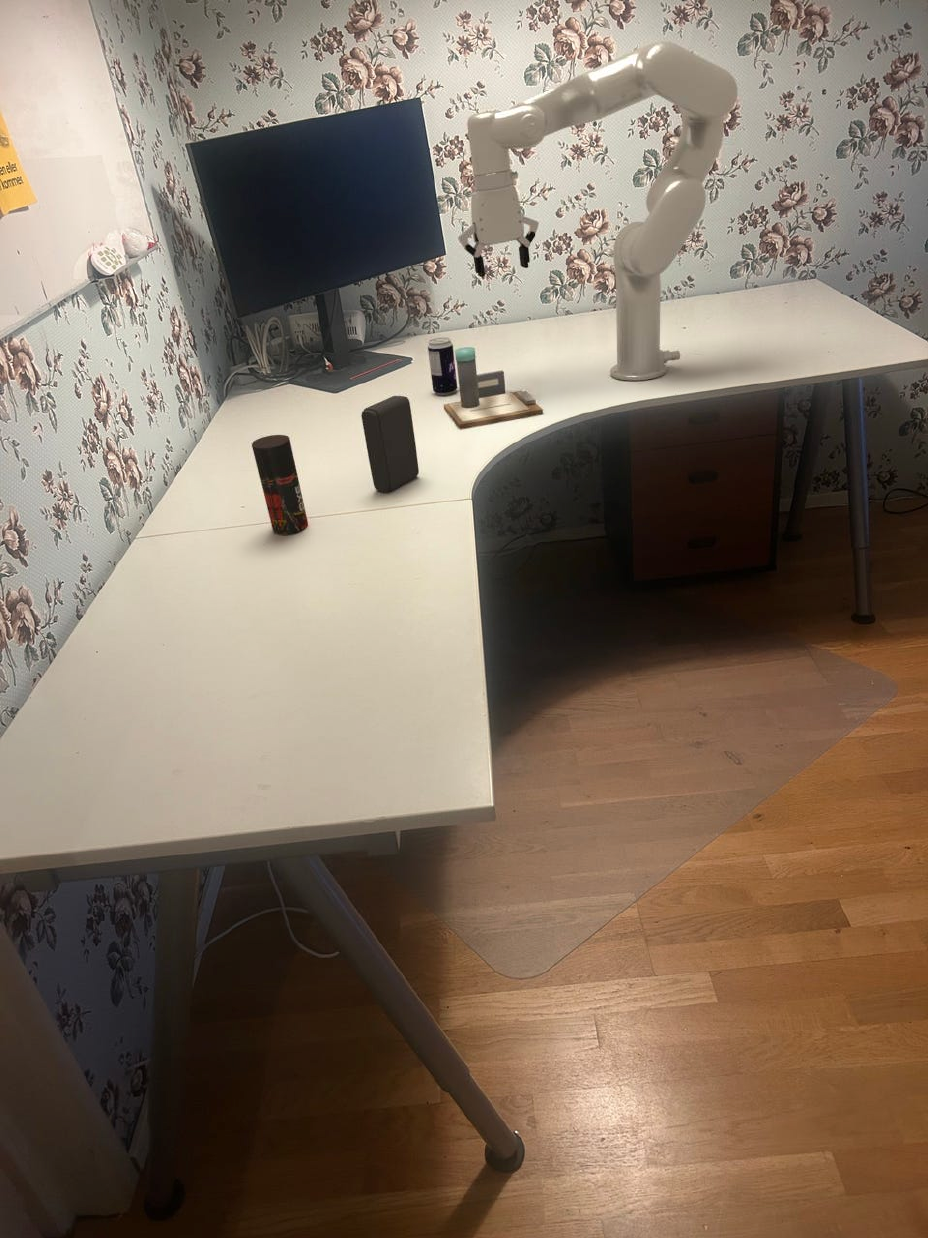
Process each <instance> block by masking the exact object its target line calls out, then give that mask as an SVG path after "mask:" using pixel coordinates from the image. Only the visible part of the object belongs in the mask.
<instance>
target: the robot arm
mask: <svg viewBox="0 0 928 1238" xmlns="http://www.w3.org/2000/svg"><path fill="white" fill-rule="evenodd" d="M737 85H738V84H737V81H736V79H735V78H734V76H733V74H731V72H730V71H728V70H727V69H725V68H723V67H721V66H719V65H717V64H716V63H713V62H711V61H709V60H708V59H705V58H703V57H701V56H699V55H698V54H696V53H693V52H692V51H690V50H688V49H686V48H684V47H682V46H680V45H678V44H677V43H674V42H672V41H659V42H658V41H657V42H653V43H649V44H646V45H644V46H642V47H640V48H637V49H635V50H633V51H630V52H629V53H626V54H623V55H622V56H620V57H618V58H614V59H612V60H610V61H609V62H605V63H604V64H602V65H599V66H597V67H595V68H591V69H590V70H588V71H586V72H583V73H582V74H579V75H577V76H575V77H574V78H572V79H570V80H568V81H566V82H564V83H562V84H560V85H558V86H556V87H554V88H551V89H549V90H546V91H545V92H542V93H540V94H538V95H535V96H533V97H531V98H528V99H526V100H524V101H522V102H520V103H517V104H515V105H514V106H512V107H510V109H506V110H503V111H501V110H490V111H489V110H488V111H484V112H479V113H477V112H476V113H473V114H472V115H470V116H468V118H467V122H466V123H467V125H466V126H467V133H468V134H467V135H468V141H469V142H468V143H469V150H470V159H471V166H472V174H473V182H474V189H475V191H474V192H472V193H471V196H470V197H471V199H470V201H471V203H470V210H471V211H470V213H471V214H470V215H471V216H470V218H471V225H470V226H469V227H468V228H467V229H466V230H464V232H462V233H461V234H460V235H459V236H458V237H457V239H458V242H460V244H461V246H462V247H463V249H464V251H466V252H467V253H468V254H470V255H471V256H472V257H473V265H474V271H475V273H476V274H477V275H478V276H479V277H481V278H484V277H486V272H485V262H484V257H483V256H482V253H483V251H484V249H485V247H486V246H491V245H492V246H493V245H498V244H502V243H507V242H511V241H517V242H518V243H519V247H518V253H519V262H520V267H522V268H524V269H528V268H529V263H530V262H531V260H530V258H531V257H530V250H529V247H530V246H531V243H532V242H533V240H534V238H536V233H537V230H538V227H539V225H540V223H539V221H537V220H535V219H532V218H529V217H526V216H524V215H523V213H522V209H521V203H520V199H519V195H518V191H517V189H516V186H515V185H513V184H514V181H515V180H517V179H518V178H519V173H518V171H513V170H512V169H511V162H510V154H509V152H510V151H509V150H515V149H518V150H519V149H521V150H522V149H523V150H525V149H527V150H528V149H533V148H534V147H536V146H538V145H539V144H540V143H542V141H543V140H544V138H545V137H547V136H549V135H551V134H554V133H556V132H559V131H561V130H564V129H567V128H570V127H573V126H577V125H583V124H584V125H585V124H589V123H593V122H595V121H598V120H603V118H606V117H609V116H611V115H613V114H615V113H617V112H619V111H622V110H625V109H626V108H628V107H630V106H633V105H635V104H638V103H640V102H642V101H644V100H646V99H649V98H652V97H654V96H658V97H661V98H662V99H665V100H666V101H667V102H670V103H672V104H674V105H676V106H678V108H679V112H680V115H681V121H682V122H681V124H682V127H681V132H680V136H679V138H678V141H677V142H676V144H675V146H674V148H673V151H672V152H671V154H670V155H669V157H668V159H667V160H666V162H665V163H664V165H663V167H662V169H661V170H660V172H659V173H658V175H657V177H656V178H655V179H654V181H653V183H652V185H651V186H650V188H649V189H648V192H647V193H646V194H647V195H646V200H645V203H646V204H645V205H646V210H647V211H648V213H649V214H648V215H647V217H646V218H645V220H644V221H634V222H630V223H628V224H626V225H625V226H623V228H621V230H620V231H619V232H618V233H617V235H616V238H615V241H614V243H613V251H612V252H613V253H612V254H613V266H614V272H615V273H614V274H615V275H614V276H615V289H616V290H615V291H616V296H615V297H616V302H615V303H616V304H615V305H616V308H615V309H616V364H615V365H613V366H612V367H611V368H610V369H609V373H610V377H612V378H615V379H616V380H622V381H629V382H631V381H646V380H650V379H656V378H658V377H662V376H663V375H665V374H666V373H667V365H666V364H667V363H668V362H669V361H677V360H680V359H681V353H680V351H679V350H674V351H670V350H664V351H663V350H661V299H662V296H661V295H662V290H661V287H662V286H661V285H662V284H661V274H662V273H664V272H665V271H666V270H667V269H668V267H670V265H671V264H672V263H673V261H674V260H675V259H676V257H677V255H678V254H679V252H680V251H681V249H682V248H683V247H684V245H685V243H686V241H688V238H689V237H690V236H691V234H692V232H693V230H694V229H695V228H696V226H697V225H698V222H699V221H700V220H701V217H702V215H703V212H704V209H705V206H706V201H707V200H706V198H707V197H706V196H707V193H706V190H705V188H704V186H703V183H704V182H705V179H706V178H707V176H708V174H710V173H709V172H710V171H711V169H712V168H713V165H714V164H715V162H716V160H717V158H718V156H719V153H720V151H721V149H722V145H723V141H724V130H725V128H724V125H725V124H724V118H725V117H726V116H728V115H729V113H730V112H731V111H732V110H733V108H734V107H735V106H736V103H737V99H738V86H737ZM524 224H525V225H527V226H529V229H528V230H529V231H528V232H526V234H525V227H524V226H525V225H524ZM524 235H525V236H524ZM470 237H472V238H473V242H474V243H475V244H474V246H472V245H471V244H470V243H469V241H468V240H469V238H470Z"/></svg>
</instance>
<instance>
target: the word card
mask: <svg viewBox="0 0 928 1238" xmlns="http://www.w3.org/2000/svg"><path fill="white" fill-rule="evenodd" d="M477 381H478V391H479V398H482V397H488V396H493V395H499V394H505V393H506V383H505V372H504V370H497V371H490V372H486V373H481V374H480V373H479V374H478V373H477Z"/></svg>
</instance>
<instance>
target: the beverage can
mask: <svg viewBox="0 0 928 1238" xmlns="http://www.w3.org/2000/svg"><path fill="white" fill-rule="evenodd" d="M427 351H428V353H427V354H428V361H429V369H430V376H431V382H432V391H433V392H434V393H435V394H436V395H438V396H440V395H441V396H442V397H443V395H446V396H450V394H451V395H454V394H455V392H456V390H458V381H457V378H458V377H457V370H456V369H457V368H456V359H455V350H454V344H453V343H452V341H451V338H449V337H437V338H433V339H430V340H429V341H428V346H427Z"/></svg>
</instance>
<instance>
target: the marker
mask: <svg viewBox="0 0 928 1238" xmlns="http://www.w3.org/2000/svg"><path fill="white" fill-rule="evenodd" d="M454 358H455V363H456V369H457V370H456V372H457V378H458V387H459V395H460V401H461V407H463V408H474V407H477V406H479V405H480V401H479V391H478V381H477V375H478V373H477V361H476V359H477V357H476V347H475V348H474V347H469V346H468V347H460V348H457V349H455V350H454Z"/></svg>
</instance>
